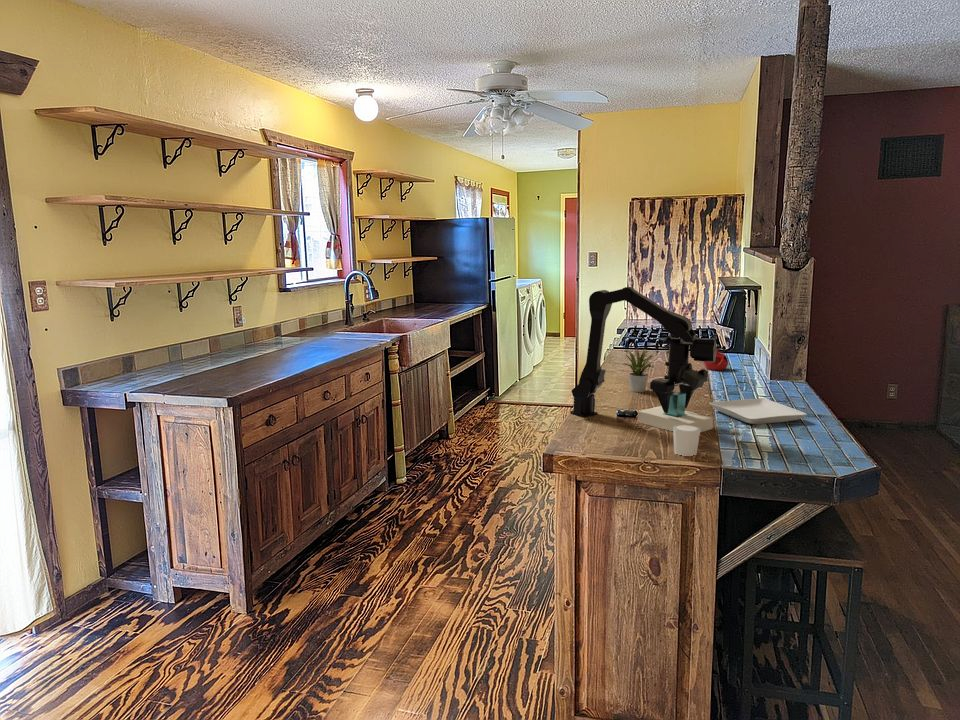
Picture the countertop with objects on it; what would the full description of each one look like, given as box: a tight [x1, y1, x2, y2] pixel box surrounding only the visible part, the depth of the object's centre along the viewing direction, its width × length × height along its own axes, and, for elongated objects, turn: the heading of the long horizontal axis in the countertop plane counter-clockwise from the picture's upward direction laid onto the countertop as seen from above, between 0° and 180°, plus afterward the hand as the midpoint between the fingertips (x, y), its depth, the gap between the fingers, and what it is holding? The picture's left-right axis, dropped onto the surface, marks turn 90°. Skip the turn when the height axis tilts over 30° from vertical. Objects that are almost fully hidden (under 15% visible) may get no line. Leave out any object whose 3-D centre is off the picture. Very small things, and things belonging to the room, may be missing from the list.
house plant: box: [621, 346, 659, 393], centre depth 243 cm, size 14×14×16 cm
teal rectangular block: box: [665, 390, 686, 418], centre depth 199 cm, size 4×4×10 cm
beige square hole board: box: [637, 405, 714, 433], centre depth 199 cm, size 12×18×4 cm, turn 38°
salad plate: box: [709, 397, 808, 425], centre depth 210 cm, size 21×21×3 cm
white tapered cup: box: [672, 425, 701, 457], centre depth 173 cm, size 7×7×7 cm
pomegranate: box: [703, 347, 729, 372], centre depth 287 cm, size 10×10×9 cm
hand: (675, 410), depth 199 cm, fingers open, 9 cm apart
